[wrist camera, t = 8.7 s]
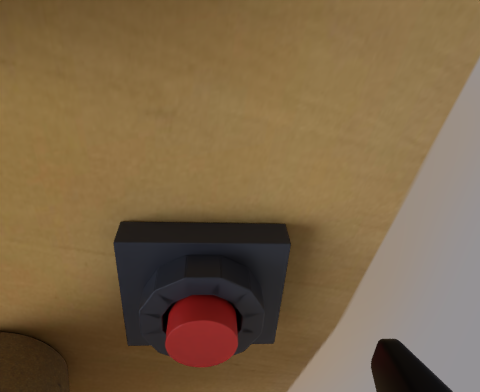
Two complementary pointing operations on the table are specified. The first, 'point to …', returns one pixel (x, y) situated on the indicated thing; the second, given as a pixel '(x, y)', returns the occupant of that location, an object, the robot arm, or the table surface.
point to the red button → (201, 331)
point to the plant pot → (30, 366)
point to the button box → (201, 275)
